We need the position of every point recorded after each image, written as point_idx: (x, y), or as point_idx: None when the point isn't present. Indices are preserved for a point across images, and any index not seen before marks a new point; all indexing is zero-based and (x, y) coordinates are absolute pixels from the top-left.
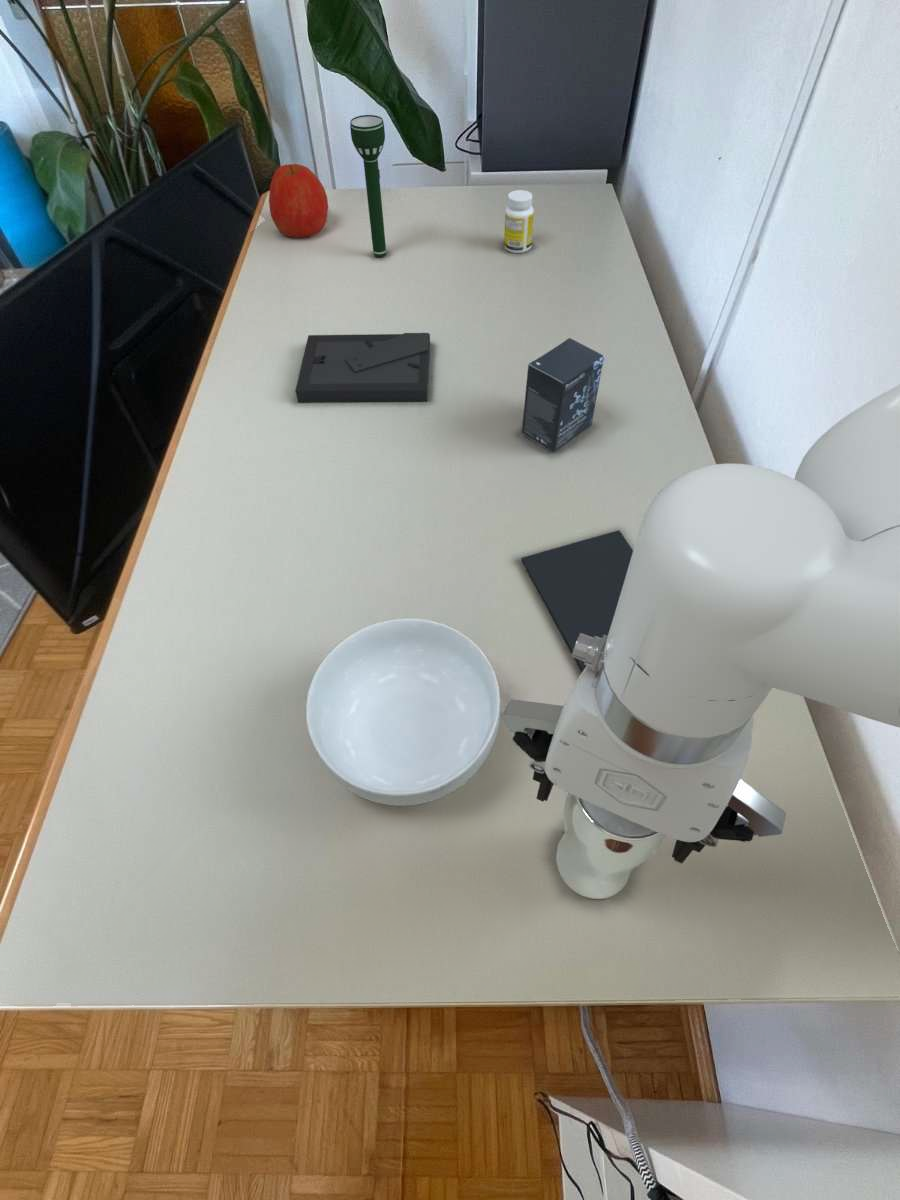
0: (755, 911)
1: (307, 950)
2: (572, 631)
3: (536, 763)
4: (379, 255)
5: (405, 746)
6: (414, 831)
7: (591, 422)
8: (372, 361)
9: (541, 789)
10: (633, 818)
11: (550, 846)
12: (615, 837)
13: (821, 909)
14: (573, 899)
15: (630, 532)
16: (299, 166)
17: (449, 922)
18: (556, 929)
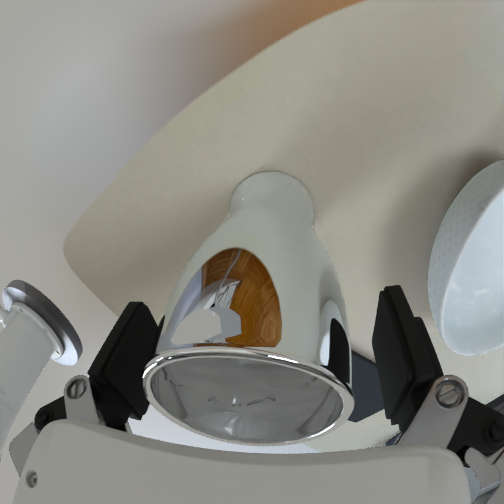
0: (130, 248)
1: (464, 11)
2: (371, 372)
3: (459, 410)
4: None
5: (486, 223)
6: (452, 146)
7: (386, 444)
8: (502, 409)
9: (412, 326)
10: (152, 470)
11: (320, 201)
12: (200, 349)
13: (104, 273)
14: (270, 163)
15: (347, 421)
16: None
17: (378, 72)
18: (270, 124)
